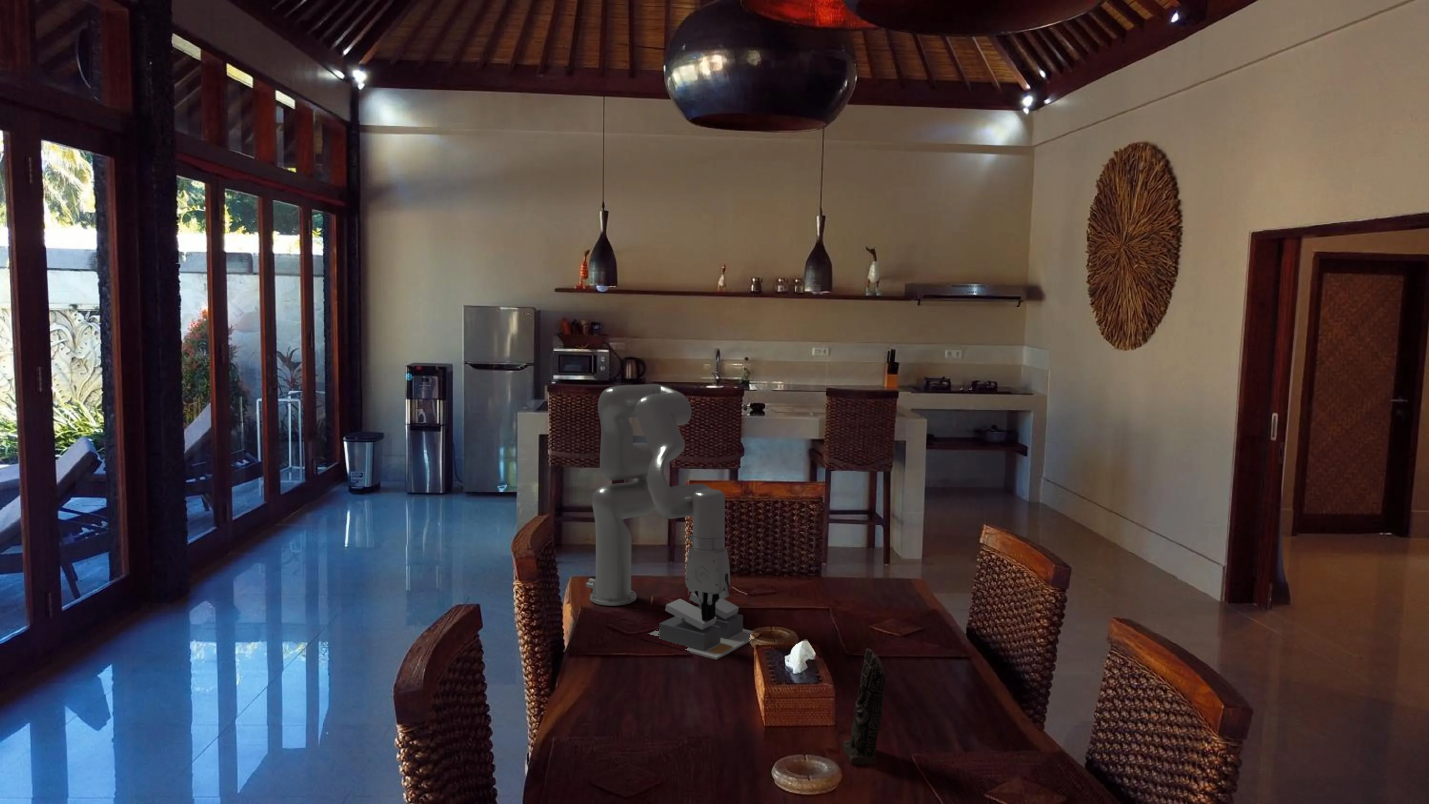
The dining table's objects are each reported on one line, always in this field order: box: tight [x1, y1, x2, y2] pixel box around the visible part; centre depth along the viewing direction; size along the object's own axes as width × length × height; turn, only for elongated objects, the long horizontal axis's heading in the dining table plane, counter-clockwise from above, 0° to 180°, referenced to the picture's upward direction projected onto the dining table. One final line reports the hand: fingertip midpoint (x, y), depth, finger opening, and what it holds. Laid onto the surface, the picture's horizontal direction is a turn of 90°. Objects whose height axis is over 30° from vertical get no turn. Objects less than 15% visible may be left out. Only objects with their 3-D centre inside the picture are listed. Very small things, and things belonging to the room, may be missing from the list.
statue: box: [842, 648, 887, 765], centre depth 180 cm, size 7×7×20 cm
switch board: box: [648, 604, 753, 660], centre depth 241 cm, size 22×20×4 cm
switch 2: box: [689, 592, 740, 619], centre depth 244 cm, size 11×6×2 cm, turn 57°
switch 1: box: [664, 598, 717, 630], centre depth 236 cm, size 11×6×2 cm, turn 57°
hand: (708, 618), depth 233 cm, fingers closed
